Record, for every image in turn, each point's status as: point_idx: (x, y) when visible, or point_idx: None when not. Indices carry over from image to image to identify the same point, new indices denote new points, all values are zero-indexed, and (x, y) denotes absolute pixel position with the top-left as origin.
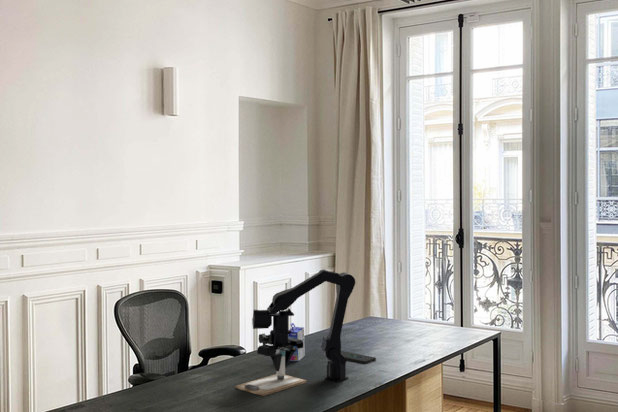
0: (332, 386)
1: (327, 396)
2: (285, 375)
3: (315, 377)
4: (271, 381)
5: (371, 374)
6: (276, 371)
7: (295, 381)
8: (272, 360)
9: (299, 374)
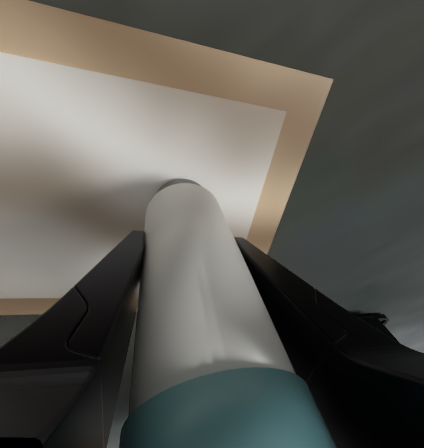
0: None
1: None
2: (289, 168)
3: (339, 279)
4: (72, 191)
5: None
6: (151, 216)
7: None
8: (42, 318)
9: (378, 190)
